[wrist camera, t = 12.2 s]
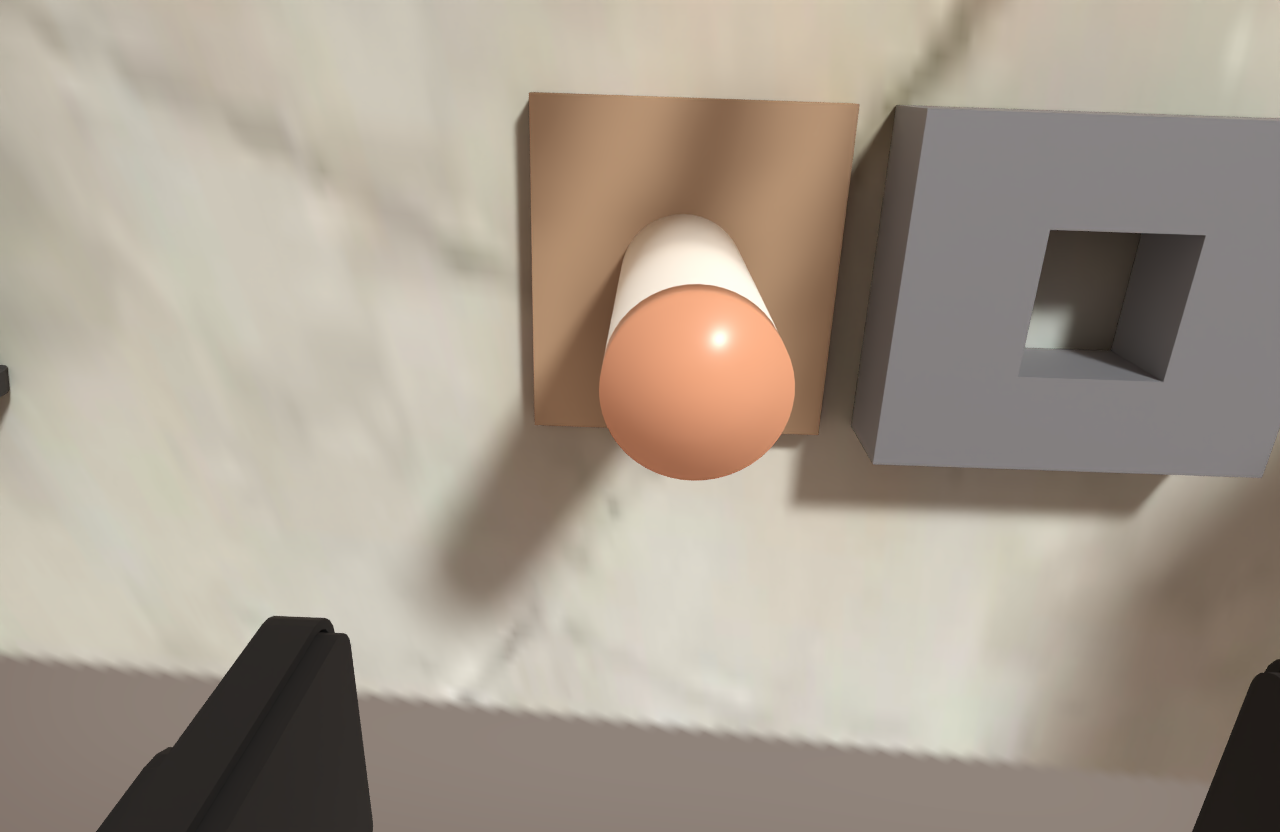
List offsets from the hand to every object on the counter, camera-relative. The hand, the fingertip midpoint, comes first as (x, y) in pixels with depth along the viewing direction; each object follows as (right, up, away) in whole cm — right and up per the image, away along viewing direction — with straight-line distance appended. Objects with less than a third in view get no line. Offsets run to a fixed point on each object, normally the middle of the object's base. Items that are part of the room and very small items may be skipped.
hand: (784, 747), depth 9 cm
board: (0, +9, +22) cm, 24 cm away
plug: (0, +9, +21) cm, 23 cm away
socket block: (+14, +8, +22) cm, 27 cm away
